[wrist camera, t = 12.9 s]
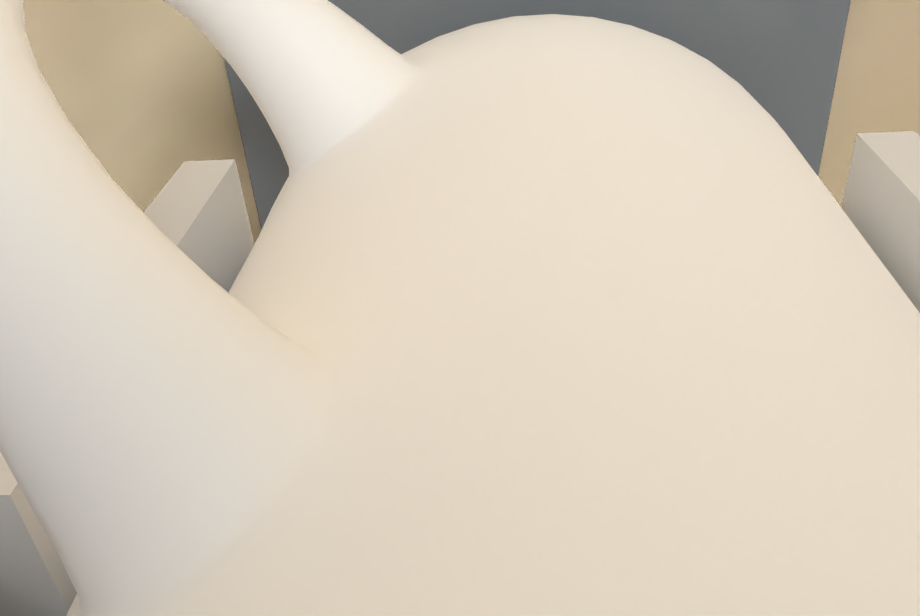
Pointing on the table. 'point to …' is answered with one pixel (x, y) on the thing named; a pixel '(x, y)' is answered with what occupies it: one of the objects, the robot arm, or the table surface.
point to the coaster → (633, 3)
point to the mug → (462, 344)
